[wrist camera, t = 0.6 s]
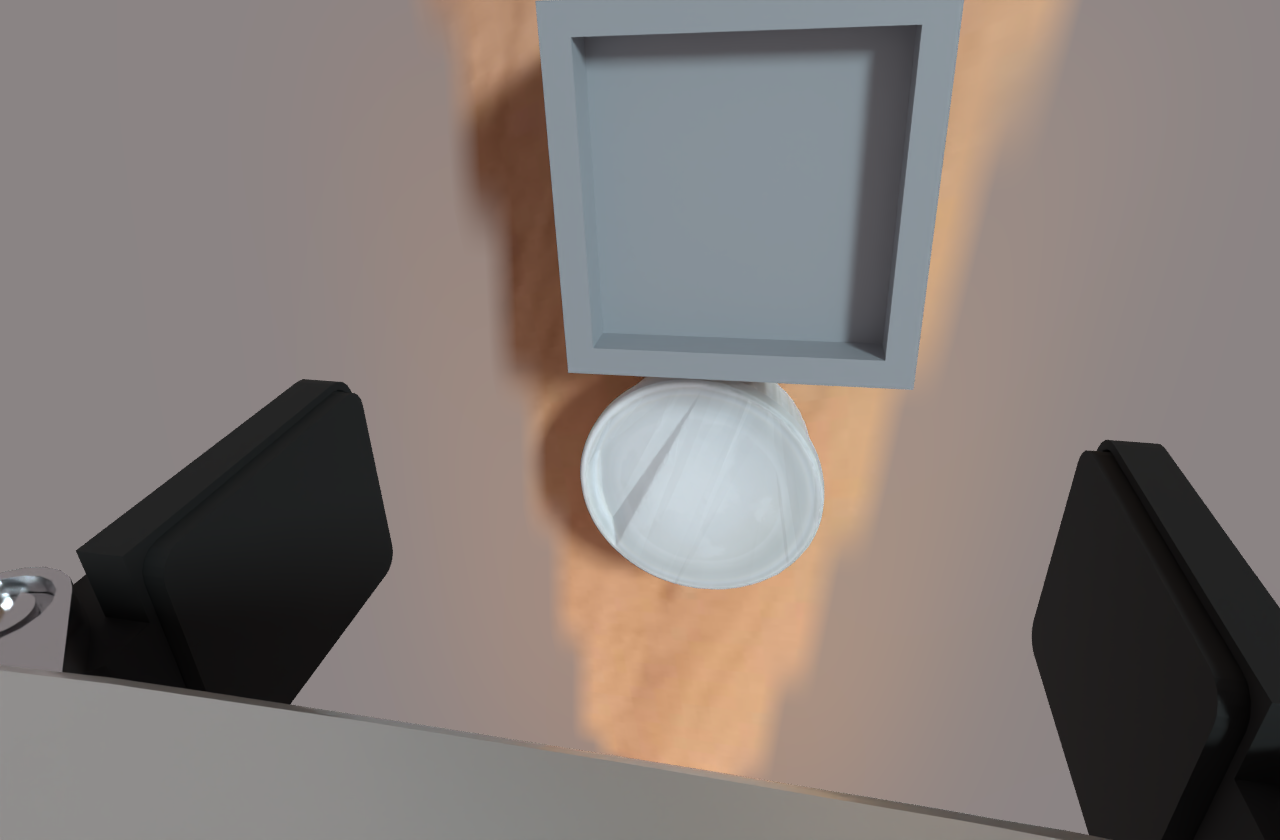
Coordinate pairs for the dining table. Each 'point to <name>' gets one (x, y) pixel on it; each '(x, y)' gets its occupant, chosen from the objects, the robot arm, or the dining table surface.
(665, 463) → the ramekin
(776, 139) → the tower top block
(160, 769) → the robot arm
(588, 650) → the dining table surface
